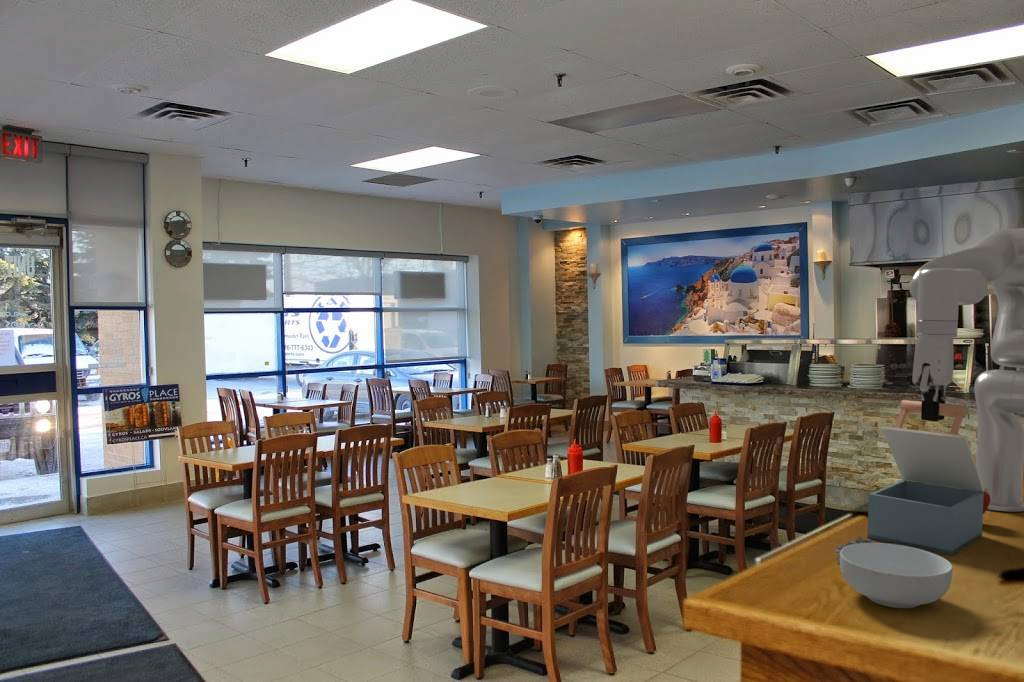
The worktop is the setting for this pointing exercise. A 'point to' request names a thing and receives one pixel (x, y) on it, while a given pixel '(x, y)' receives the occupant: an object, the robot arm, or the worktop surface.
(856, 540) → the egg carton
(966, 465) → the flap
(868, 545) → the cereal bowl
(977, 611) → the worktop surface
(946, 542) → the carton
